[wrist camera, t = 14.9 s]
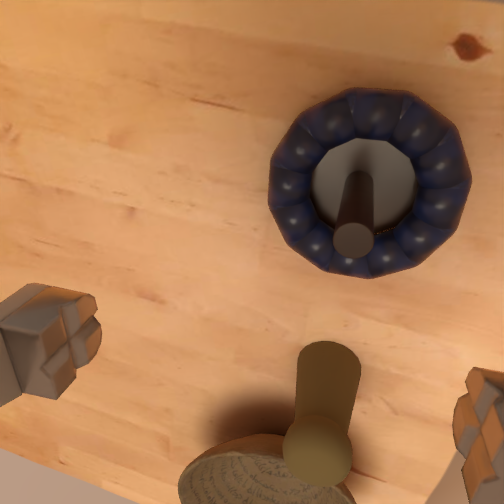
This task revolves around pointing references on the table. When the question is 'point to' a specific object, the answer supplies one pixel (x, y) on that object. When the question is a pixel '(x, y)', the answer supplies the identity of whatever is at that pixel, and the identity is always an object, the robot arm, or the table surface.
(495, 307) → the table surface
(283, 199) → the ring
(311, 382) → the olive game pawn
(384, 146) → the post
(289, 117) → the table surface
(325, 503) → the bowl
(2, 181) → the table surface
